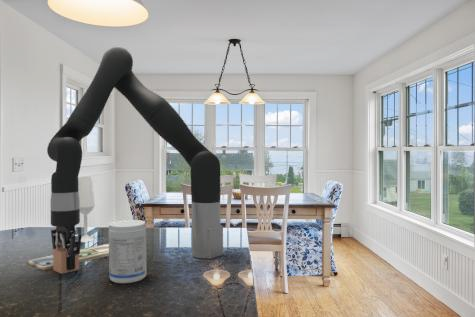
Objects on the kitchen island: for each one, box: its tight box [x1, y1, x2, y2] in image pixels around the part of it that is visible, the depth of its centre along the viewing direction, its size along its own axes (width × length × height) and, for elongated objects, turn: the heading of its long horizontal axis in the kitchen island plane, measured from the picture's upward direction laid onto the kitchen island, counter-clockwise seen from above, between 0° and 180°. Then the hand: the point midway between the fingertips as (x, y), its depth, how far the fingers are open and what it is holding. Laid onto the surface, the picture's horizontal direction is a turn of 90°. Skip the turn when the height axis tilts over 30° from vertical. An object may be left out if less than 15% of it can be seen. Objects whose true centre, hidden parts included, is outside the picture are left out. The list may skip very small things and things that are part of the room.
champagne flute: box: [78, 176, 96, 243], centre depth 144 cm, size 7×7×24 cm
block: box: [52, 247, 80, 275], centre depth 108 cm, size 5×5×6 cm
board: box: [26, 243, 109, 272], centre depth 121 cm, size 12×27×1 cm, turn 139°
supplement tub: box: [108, 219, 147, 284], centre depth 100 cm, size 10×10×15 cm
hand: (66, 267), depth 108 cm, fingers closed on block, 5 cm apart
